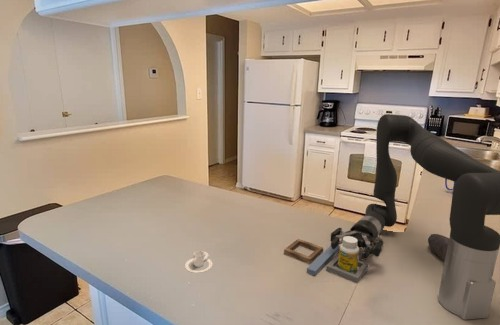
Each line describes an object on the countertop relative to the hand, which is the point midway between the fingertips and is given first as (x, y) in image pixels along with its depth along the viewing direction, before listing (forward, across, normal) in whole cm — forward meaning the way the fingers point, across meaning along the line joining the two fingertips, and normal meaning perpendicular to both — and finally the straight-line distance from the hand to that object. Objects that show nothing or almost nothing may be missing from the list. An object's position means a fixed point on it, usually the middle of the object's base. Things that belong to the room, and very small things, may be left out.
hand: (347, 251), depth 84 cm
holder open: (-2, 0, +6) cm, 7 cm away
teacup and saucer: (+22, -33, +7) cm, 40 cm away
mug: (-101, +19, +7) cm, 103 cm away
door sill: (-2, -7, +6) cm, 10 cm away
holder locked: (-2, -14, +6) cm, 16 cm away
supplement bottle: (-2, 0, +7) cm, 7 cm away
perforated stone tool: (-27, +21, +7) cm, 35 cm away
